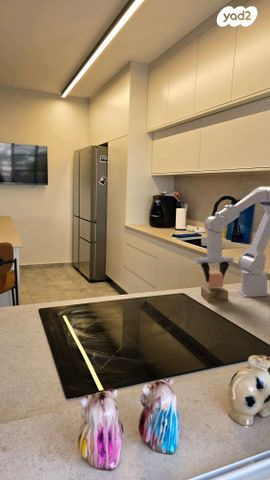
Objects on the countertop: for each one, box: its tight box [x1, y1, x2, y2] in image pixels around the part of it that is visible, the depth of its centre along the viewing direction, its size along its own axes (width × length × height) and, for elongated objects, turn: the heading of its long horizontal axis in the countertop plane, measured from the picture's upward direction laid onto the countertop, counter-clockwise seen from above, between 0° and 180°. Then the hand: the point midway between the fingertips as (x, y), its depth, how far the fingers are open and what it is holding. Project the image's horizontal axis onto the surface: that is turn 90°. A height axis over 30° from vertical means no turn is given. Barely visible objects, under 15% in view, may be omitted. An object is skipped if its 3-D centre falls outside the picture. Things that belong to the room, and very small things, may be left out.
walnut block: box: [200, 285, 229, 303], centre depth 130 cm, size 8×8×4 cm
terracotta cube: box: [206, 270, 224, 288], centre depth 129 cm, size 5×5×5 cm
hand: (214, 281), depth 130 cm, fingers closed on terracotta cube, 5 cm apart
